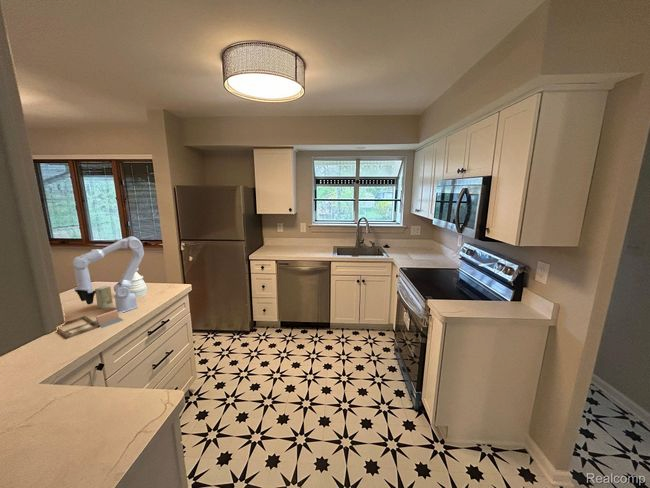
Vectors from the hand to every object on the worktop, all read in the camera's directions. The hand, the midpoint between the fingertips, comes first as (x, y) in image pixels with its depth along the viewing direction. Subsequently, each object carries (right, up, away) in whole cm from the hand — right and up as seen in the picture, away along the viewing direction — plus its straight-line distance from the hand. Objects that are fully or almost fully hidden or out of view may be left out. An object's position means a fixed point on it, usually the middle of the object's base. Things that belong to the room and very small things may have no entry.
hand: (87, 302), depth 145 cm
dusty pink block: (+13, -10, -2) cm, 16 cm away
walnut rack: (+3, -12, -9) cm, 15 cm away
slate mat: (+13, -10, -1) cm, 16 cm away
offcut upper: (+7, -12, -11) cm, 18 cm away
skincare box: (-3, -6, +16) cm, 18 cm away
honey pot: (+2, -3, +35) cm, 35 cm away
